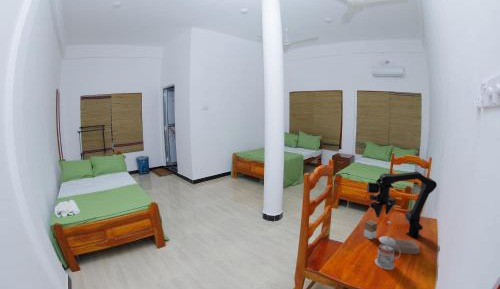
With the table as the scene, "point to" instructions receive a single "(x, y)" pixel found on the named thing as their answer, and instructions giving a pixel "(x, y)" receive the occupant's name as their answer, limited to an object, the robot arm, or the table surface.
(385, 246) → the french press
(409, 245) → the brick
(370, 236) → the white cube
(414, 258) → the table surface
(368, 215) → the table surface
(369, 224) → the walnut cube
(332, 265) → the table surface
